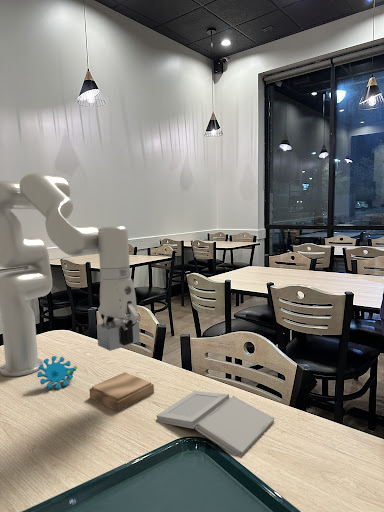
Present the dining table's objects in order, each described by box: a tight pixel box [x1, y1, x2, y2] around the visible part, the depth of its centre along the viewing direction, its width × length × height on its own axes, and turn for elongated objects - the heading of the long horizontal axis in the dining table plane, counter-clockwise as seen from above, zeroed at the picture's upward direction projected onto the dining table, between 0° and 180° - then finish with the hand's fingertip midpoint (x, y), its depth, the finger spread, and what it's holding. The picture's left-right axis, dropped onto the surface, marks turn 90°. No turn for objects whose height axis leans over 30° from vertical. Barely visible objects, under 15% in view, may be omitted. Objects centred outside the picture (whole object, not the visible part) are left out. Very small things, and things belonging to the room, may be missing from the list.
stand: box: [88, 372, 155, 413], centre depth 94 cm, size 12×12×3 cm
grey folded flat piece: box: [156, 390, 275, 457], centre depth 81 cm, size 23×15×4 cm, turn 52°
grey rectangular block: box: [96, 319, 141, 352], centre depth 93 cm, size 9×6×6 cm, turn 134°
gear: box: [37, 355, 78, 390], centre depth 103 cm, size 11×6×10 cm
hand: (119, 340), depth 93 cm, fingers closed on grey rectangular block, 6 cm apart
